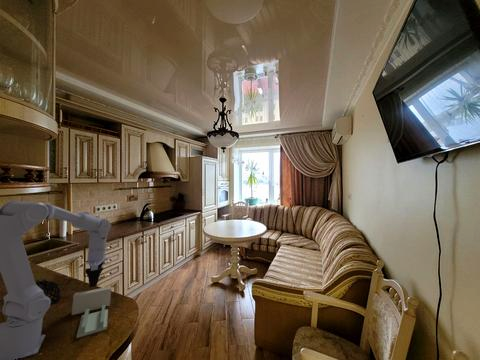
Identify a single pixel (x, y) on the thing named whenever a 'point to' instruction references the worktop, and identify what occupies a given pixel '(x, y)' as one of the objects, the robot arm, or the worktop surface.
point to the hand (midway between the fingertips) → (94, 282)
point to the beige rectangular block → (91, 300)
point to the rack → (93, 322)
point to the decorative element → (49, 289)
